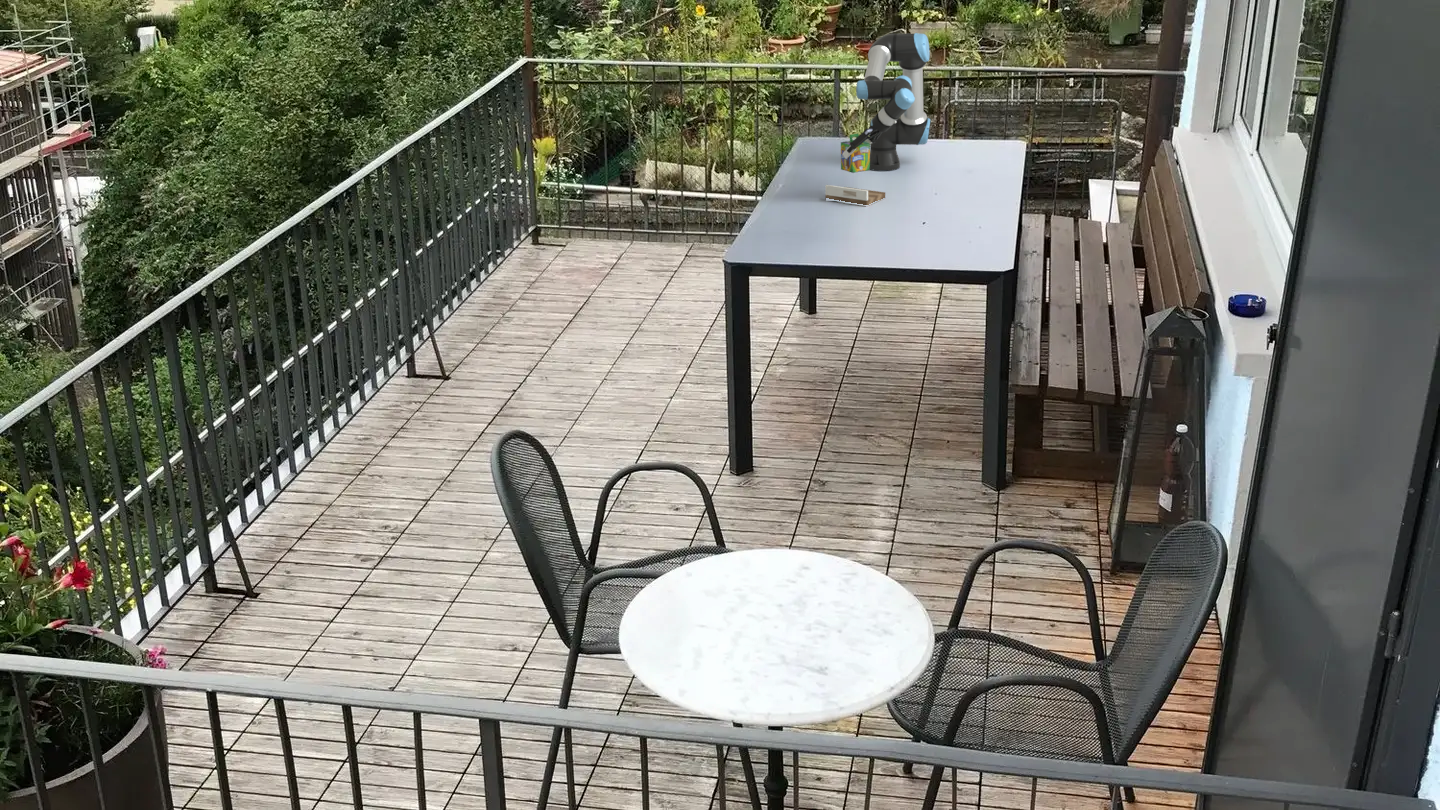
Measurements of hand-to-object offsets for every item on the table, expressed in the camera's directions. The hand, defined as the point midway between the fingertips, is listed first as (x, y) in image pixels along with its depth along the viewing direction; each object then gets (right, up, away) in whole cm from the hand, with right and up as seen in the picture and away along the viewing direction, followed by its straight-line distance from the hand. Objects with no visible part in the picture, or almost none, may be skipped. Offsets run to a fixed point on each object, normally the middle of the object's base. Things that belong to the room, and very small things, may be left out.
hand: (852, 153), depth 561 cm
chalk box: (+1, -7, +2) cm, 7 cm away
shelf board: (+2, -18, +5) cm, 19 cm away
